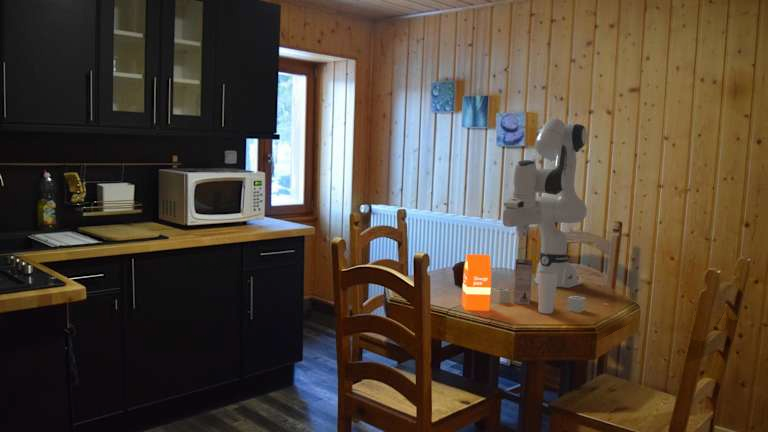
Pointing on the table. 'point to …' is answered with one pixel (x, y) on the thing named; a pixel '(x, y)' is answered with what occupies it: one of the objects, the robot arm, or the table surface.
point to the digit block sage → (500, 295)
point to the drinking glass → (546, 291)
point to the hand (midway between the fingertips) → (522, 236)
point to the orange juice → (476, 282)
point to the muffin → (458, 273)
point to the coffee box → (522, 281)
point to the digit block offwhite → (576, 304)
